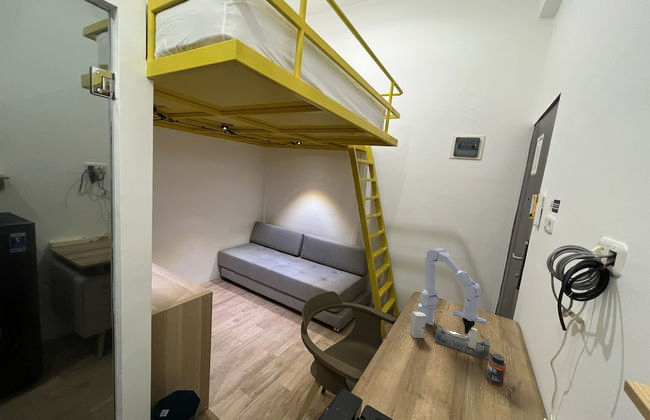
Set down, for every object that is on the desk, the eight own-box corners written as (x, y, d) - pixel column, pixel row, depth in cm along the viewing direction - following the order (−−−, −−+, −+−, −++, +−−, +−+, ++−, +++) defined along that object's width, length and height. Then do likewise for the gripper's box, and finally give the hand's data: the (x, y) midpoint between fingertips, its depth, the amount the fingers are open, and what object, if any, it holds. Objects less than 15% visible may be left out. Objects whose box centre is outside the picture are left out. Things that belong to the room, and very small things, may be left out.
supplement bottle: (499, 378, 103) (504, 354, 101) (505, 389, 97) (510, 363, 96) (483, 373, 105) (488, 349, 103) (487, 384, 99) (492, 359, 98)
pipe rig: (434, 342, 123) (436, 332, 122) (435, 330, 134) (436, 320, 133) (490, 361, 113) (492, 350, 112) (486, 346, 124) (488, 336, 123)
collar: (468, 346, 120) (470, 331, 119) (467, 341, 124) (469, 326, 123) (475, 349, 118) (477, 333, 117) (473, 343, 123) (476, 328, 122)
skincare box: (413, 338, 125) (416, 316, 124) (408, 332, 130) (411, 311, 128) (424, 337, 126) (427, 316, 125) (419, 332, 130) (422, 311, 129)
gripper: (454, 306, 120) (450, 332, 121) (489, 315, 114) (484, 342, 115) (454, 300, 126) (450, 325, 128) (486, 309, 120) (482, 334, 122)
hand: (466, 332), depth 122 cm, fingers closed
